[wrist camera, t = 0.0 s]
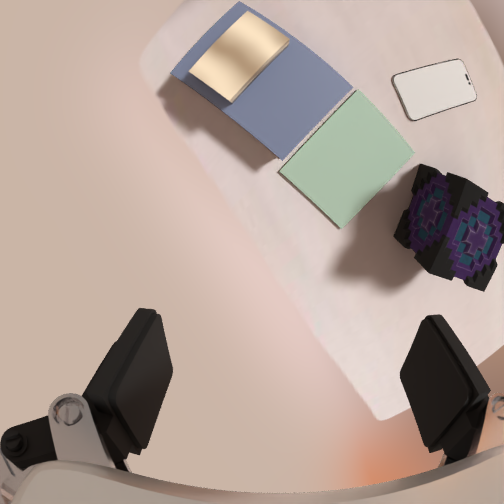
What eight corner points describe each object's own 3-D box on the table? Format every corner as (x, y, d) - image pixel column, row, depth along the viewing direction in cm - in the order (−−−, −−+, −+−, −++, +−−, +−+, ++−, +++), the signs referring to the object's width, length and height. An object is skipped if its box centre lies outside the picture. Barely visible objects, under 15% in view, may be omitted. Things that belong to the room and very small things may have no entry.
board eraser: (249, 19, 25) (247, 10, 23) (288, 46, 27) (289, 38, 24) (195, 76, 29) (188, 71, 26) (232, 103, 30) (229, 100, 27)
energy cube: (471, 191, 35) (518, 214, 24) (446, 256, 40) (484, 291, 29) (419, 163, 35) (466, 178, 24) (393, 236, 40) (428, 273, 29)
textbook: (242, 12, 28) (239, 1, 24) (345, 91, 32) (353, 87, 28) (179, 78, 32) (170, 73, 29) (281, 157, 36) (282, 160, 33)
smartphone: (390, 75, 30) (461, 57, 26) (387, 76, 31) (457, 58, 27) (411, 123, 32) (478, 100, 28) (407, 122, 33) (475, 100, 29)
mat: (357, 89, 32) (358, 89, 31) (413, 152, 34) (414, 152, 34) (279, 170, 37) (279, 171, 37) (340, 228, 40) (341, 229, 39)
